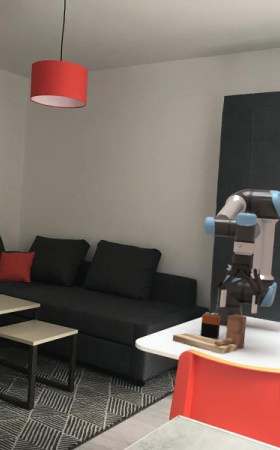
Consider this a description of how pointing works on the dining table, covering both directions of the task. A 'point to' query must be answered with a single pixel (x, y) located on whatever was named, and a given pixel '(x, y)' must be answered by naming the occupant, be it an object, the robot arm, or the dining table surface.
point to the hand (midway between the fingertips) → (237, 309)
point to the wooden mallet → (235, 331)
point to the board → (204, 343)
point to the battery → (210, 325)
